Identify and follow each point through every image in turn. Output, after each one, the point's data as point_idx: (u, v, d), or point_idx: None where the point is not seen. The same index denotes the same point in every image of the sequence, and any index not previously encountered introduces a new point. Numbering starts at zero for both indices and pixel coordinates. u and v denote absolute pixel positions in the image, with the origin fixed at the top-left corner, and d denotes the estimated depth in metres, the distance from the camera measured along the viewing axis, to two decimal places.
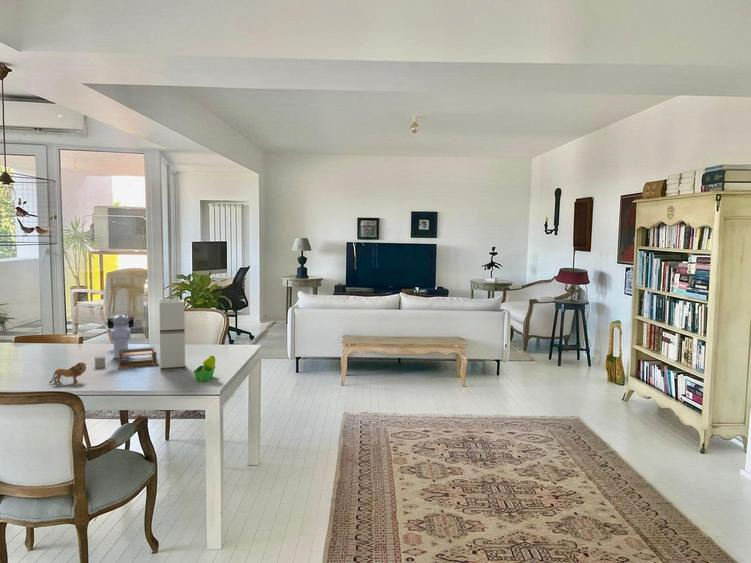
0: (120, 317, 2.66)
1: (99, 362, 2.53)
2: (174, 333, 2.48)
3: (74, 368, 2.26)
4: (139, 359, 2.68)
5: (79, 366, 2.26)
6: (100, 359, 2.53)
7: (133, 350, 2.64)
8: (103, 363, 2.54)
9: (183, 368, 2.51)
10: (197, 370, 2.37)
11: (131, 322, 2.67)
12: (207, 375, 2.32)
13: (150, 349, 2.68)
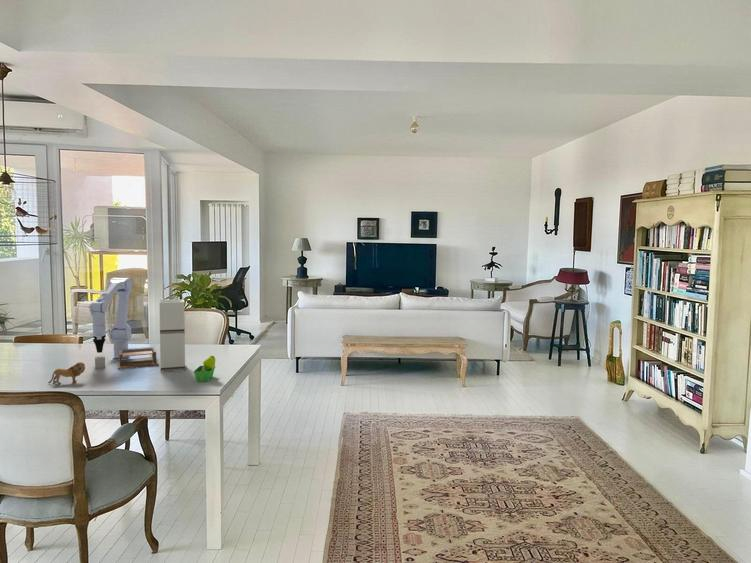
0: (93, 335, 2.53)
1: (99, 362, 2.53)
2: (174, 333, 2.48)
3: (74, 368, 2.26)
4: (139, 359, 2.68)
5: (78, 366, 2.26)
6: (100, 359, 2.53)
7: (133, 350, 2.64)
8: (103, 363, 2.54)
9: (183, 368, 2.51)
10: (197, 370, 2.37)
11: None
12: (207, 375, 2.32)
13: (150, 349, 2.68)
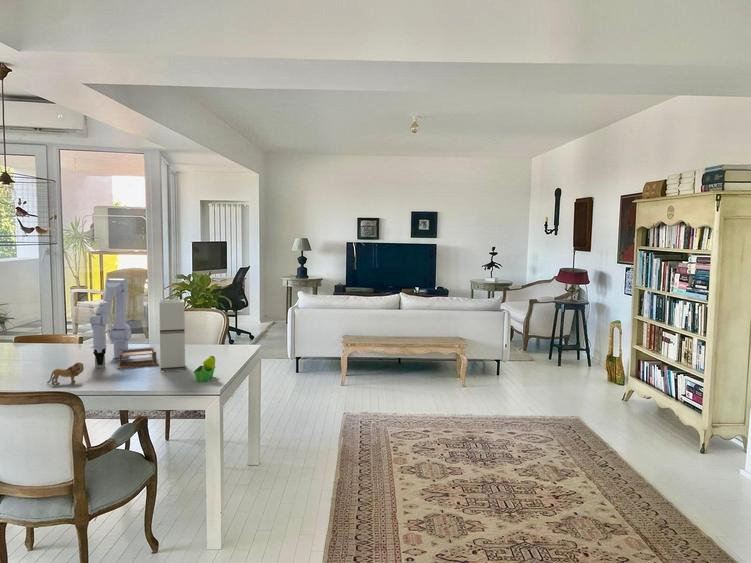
0: (93, 347, 2.54)
1: None
2: (174, 333, 2.48)
3: (72, 368, 2.25)
4: (139, 359, 2.68)
5: (77, 366, 2.26)
6: None
7: (133, 350, 2.64)
8: (103, 363, 2.54)
9: (183, 368, 2.51)
10: (197, 370, 2.37)
11: None
12: (207, 375, 2.32)
13: (150, 349, 2.68)
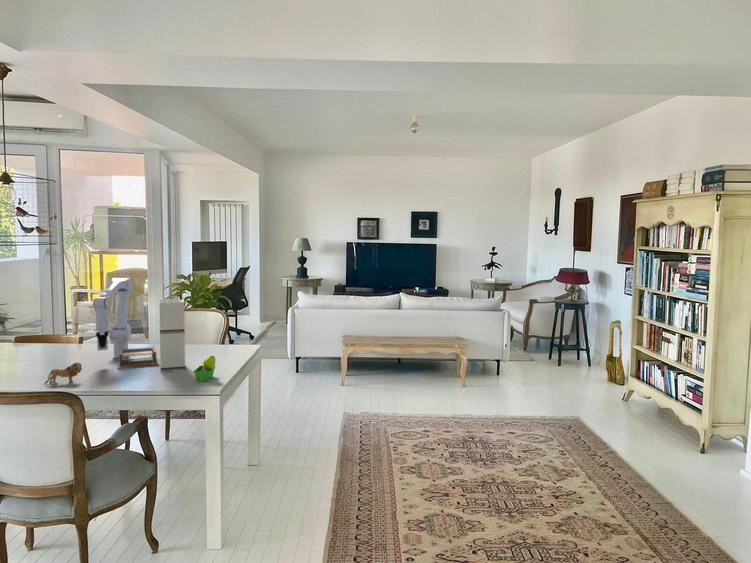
0: (96, 330, 2.53)
1: None
2: (174, 333, 2.48)
3: (70, 368, 2.25)
4: (139, 359, 2.68)
5: (75, 366, 2.26)
6: None
7: (133, 350, 2.64)
8: (105, 346, 2.54)
9: (183, 368, 2.51)
10: (197, 370, 2.37)
11: None
12: (207, 375, 2.32)
13: (150, 349, 2.68)
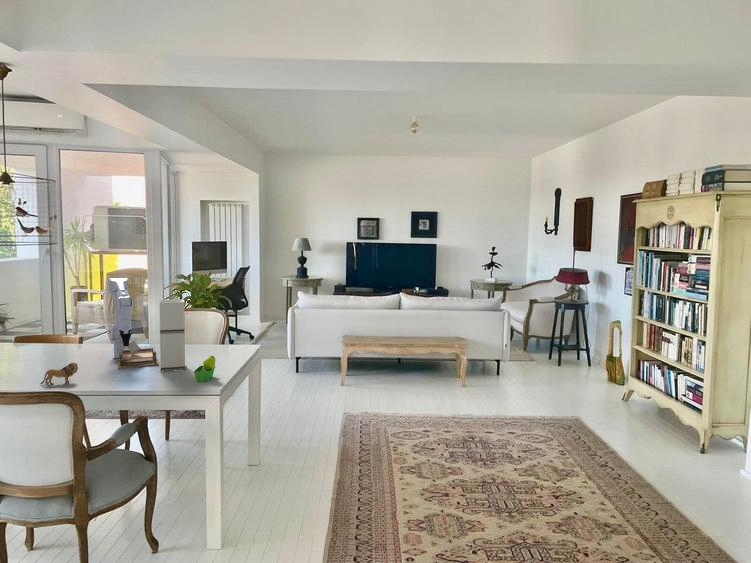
0: None
1: (132, 346, 2.58)
2: (174, 333, 2.48)
3: (66, 368, 2.25)
4: (139, 359, 2.68)
5: (71, 366, 2.26)
6: (131, 343, 2.59)
7: None
8: (136, 345, 2.59)
9: (183, 368, 2.51)
10: (197, 370, 2.37)
11: None
12: (207, 375, 2.32)
13: (150, 349, 2.67)
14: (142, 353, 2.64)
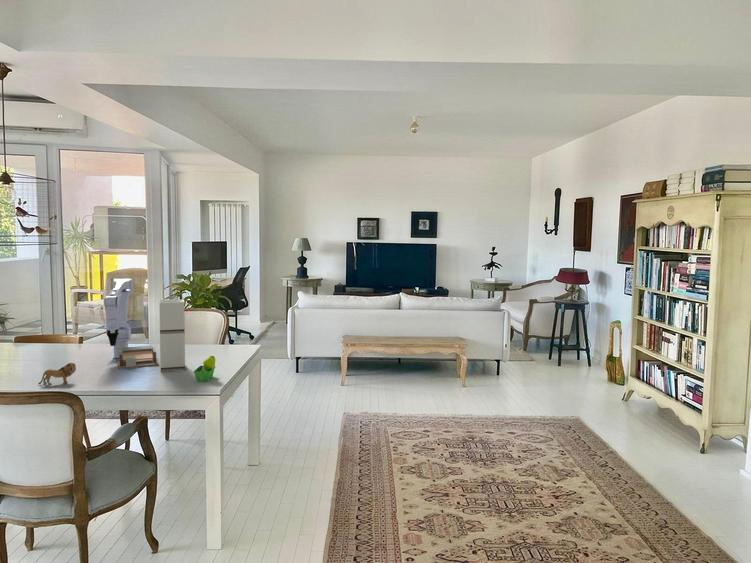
0: (106, 328, 2.58)
1: None
2: (174, 333, 2.48)
3: (64, 368, 2.25)
4: None
5: (69, 366, 2.25)
6: None
7: (133, 350, 2.63)
8: None
9: (183, 368, 2.51)
10: (197, 370, 2.37)
11: (113, 334, 2.55)
12: (207, 375, 2.32)
13: (150, 349, 2.67)
14: (142, 353, 2.64)
